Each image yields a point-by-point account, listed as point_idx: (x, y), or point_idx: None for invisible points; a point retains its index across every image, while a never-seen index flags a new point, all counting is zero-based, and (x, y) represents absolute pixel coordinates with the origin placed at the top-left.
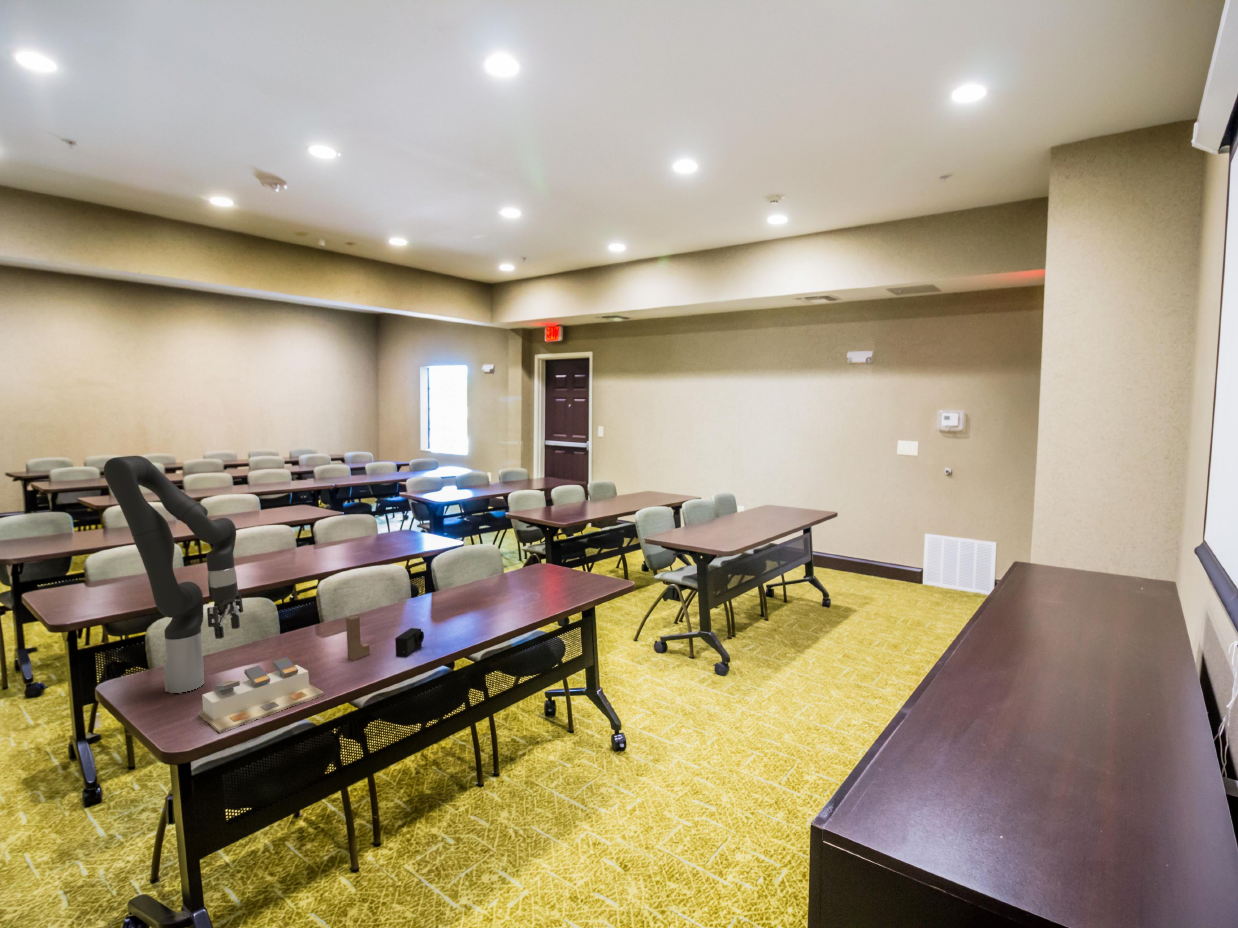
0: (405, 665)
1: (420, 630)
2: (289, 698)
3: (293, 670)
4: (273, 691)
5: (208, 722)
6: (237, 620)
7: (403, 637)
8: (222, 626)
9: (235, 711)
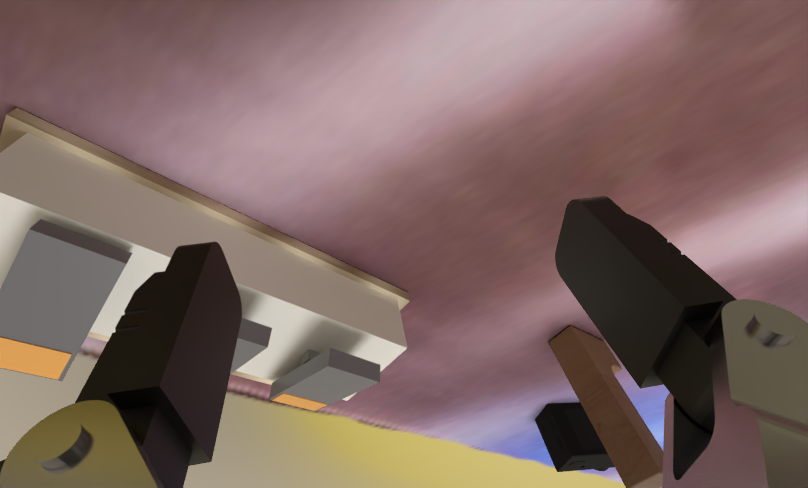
0: (484, 434)
1: None
2: None
3: (302, 406)
4: None
5: None
6: (608, 339)
7: (568, 465)
8: (197, 457)
9: None
